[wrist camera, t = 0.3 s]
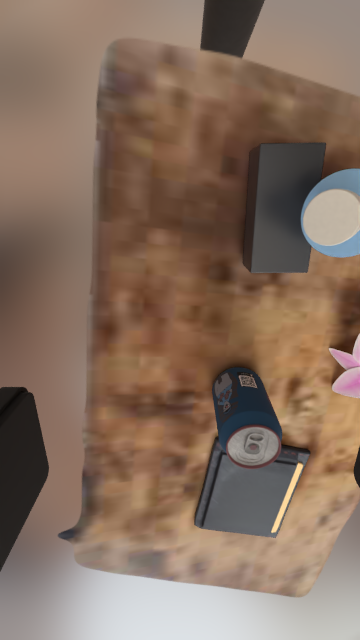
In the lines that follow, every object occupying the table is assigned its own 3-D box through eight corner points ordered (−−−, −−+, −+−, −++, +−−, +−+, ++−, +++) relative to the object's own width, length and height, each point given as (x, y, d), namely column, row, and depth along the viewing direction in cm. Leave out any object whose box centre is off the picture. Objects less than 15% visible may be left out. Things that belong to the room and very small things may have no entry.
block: (249, 151, 33) (260, 143, 28) (306, 150, 32) (326, 142, 28) (242, 263, 37) (250, 273, 32) (292, 263, 37) (307, 272, 32)
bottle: (384, 177, 33) (556, 157, 18) (371, 239, 36) (512, 269, 20) (259, 179, 33) (323, 160, 18) (254, 241, 36) (307, 270, 21)
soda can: (253, 408, 44) (276, 477, 33) (207, 400, 44) (214, 468, 33) (266, 367, 42) (296, 427, 31) (217, 359, 42) (228, 417, 30)
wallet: (217, 442, 44) (317, 459, 45) (216, 433, 46) (312, 449, 47) (190, 533, 52) (276, 546, 52) (190, 522, 53) (274, 535, 54)
